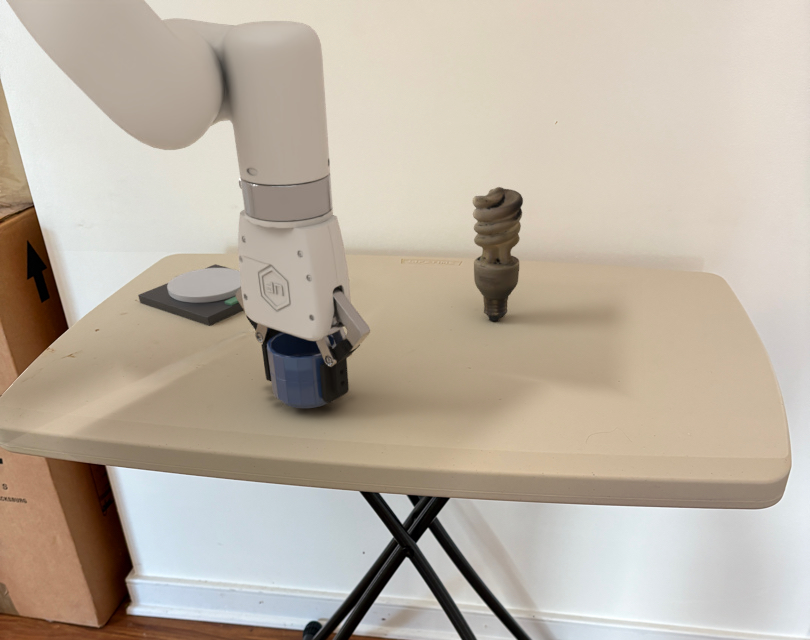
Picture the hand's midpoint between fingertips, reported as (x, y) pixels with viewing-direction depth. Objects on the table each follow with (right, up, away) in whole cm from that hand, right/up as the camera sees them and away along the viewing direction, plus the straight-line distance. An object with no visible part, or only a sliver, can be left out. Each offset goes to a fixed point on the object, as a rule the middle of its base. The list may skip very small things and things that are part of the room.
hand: (307, 385), depth 76 cm
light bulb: (+20, +11, +17) cm, 29 cm away
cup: (0, -1, +1) cm, 1 cm away
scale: (-15, +15, +22) cm, 30 cm away
